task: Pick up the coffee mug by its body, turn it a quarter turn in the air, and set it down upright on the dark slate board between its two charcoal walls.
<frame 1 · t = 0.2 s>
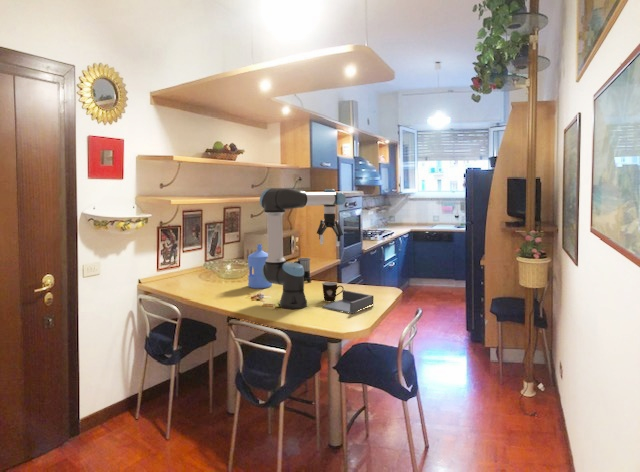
hand: (329, 245, 279), 28 cm above the table, tool pointing down, fingers open, 13 cm apart
corner arena: (349, 307, 233), on the table
milk frother: (305, 280, 304), on the table
water jug: (260, 286, 284), on the table
coffee mug: (332, 301, 247), on the table
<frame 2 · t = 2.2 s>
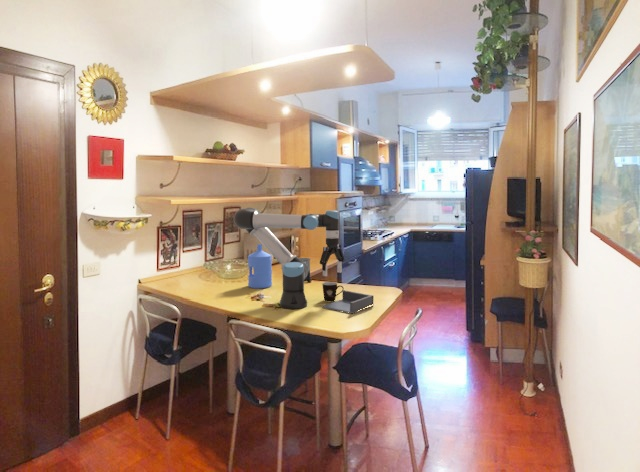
hand: (332, 274, 246), 16 cm above the table, tool pointing down, fingers open, 13 cm apart
nothing on the table moved.
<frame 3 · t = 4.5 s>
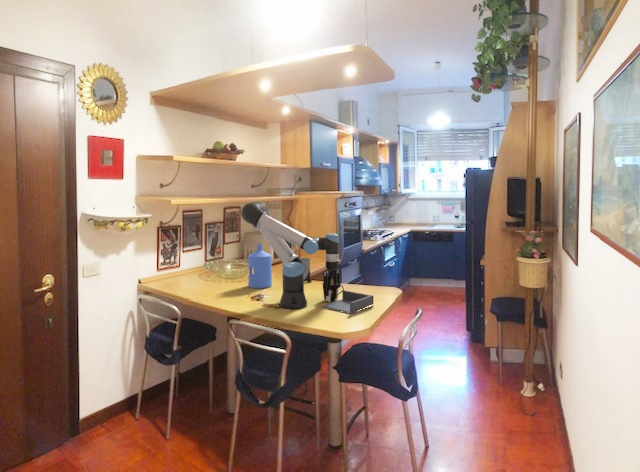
hand: (331, 299, 247), 0 cm above the table, tool pointing down, fingers closed on coffee mug, 6 cm apart
coffee mug: (332, 300, 247), on the table, touching gripper
everything else where it was.
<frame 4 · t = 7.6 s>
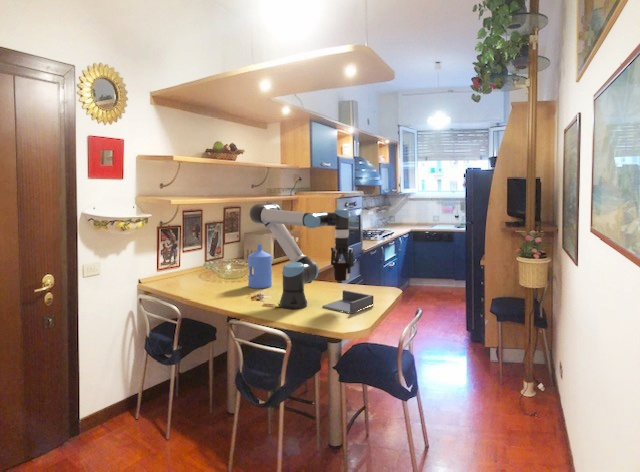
hand: (342, 278, 236), 15 cm above the table, tool pointing down, fingers closed on coffee mug, 6 cm apart
coffee mug: (341, 279, 236), point 15 cm above the table, touching gripper
everything else where it was.
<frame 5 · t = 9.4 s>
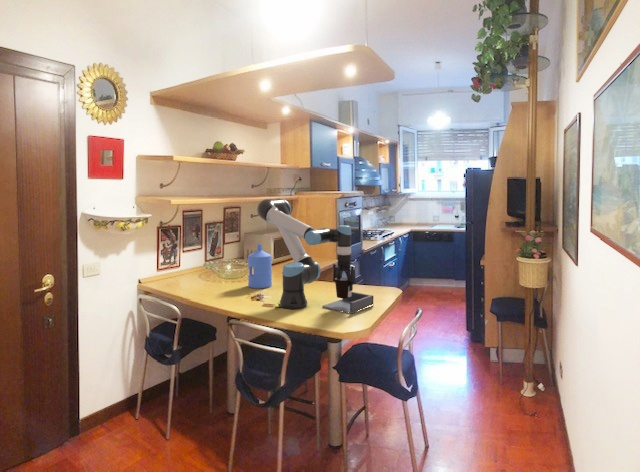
hand: (344, 295, 234), 6 cm above the table, tool pointing down, fingers closed on coffee mug, 6 cm apart
coffee mug: (343, 296, 234), point 6 cm above the table, touching gripper
everything else where it was.
when the fingers open (2 cm above the table, at t = 10.9 s): coffee mug stays where it is, resting on corner arena.
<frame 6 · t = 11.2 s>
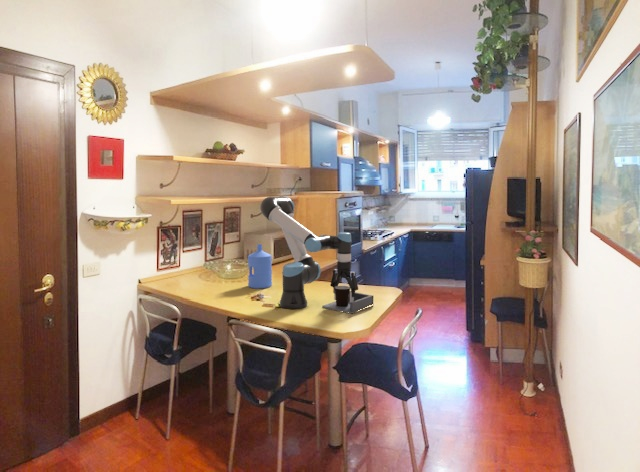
hand: (344, 301, 234), 3 cm above the table, tool pointing down, fingers open, 10 cm apart
coffee mug: (343, 305, 235), point 1 cm above the table, touching corner arena
everything else where it was.
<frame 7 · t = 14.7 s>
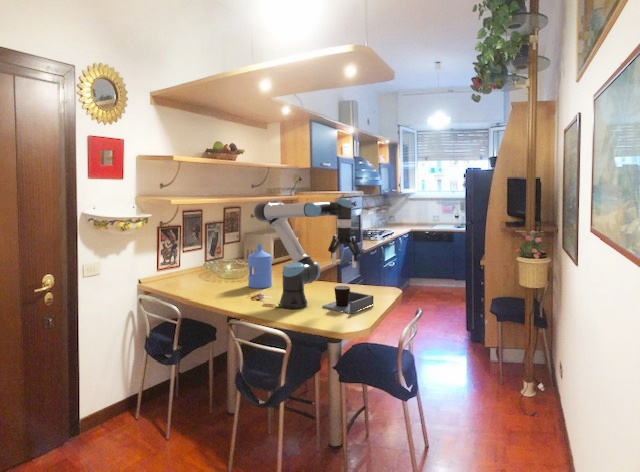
hand: (343, 265, 232), 23 cm above the table, tool pointing down, fingers open, 13 cm apart
nothing on the table moved.
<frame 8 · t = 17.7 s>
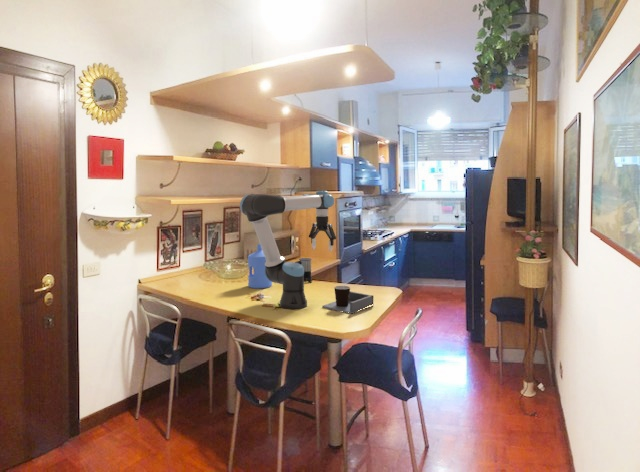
hand: (322, 249, 266), 27 cm above the table, tool pointing down, fingers open, 13 cm apart
at the end: coffee mug inside the target area (1.1 cm from its centre), point 0.8 cm above the table; coffee mug tilted 0°; the gripper is holding nothing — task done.
